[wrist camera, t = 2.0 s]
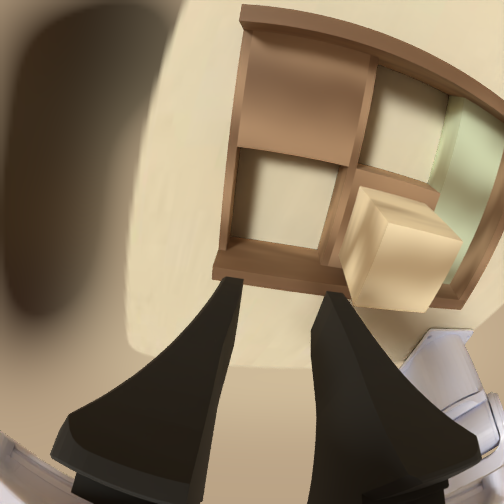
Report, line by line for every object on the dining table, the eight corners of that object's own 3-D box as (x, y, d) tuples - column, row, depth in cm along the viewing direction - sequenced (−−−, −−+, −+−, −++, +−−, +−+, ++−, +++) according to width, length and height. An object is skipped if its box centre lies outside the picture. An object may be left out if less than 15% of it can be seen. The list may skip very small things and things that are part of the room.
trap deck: (442, 280, 21) (460, 309, 17) (222, 246, 21) (211, 279, 17) (501, 115, 12) (534, 126, 9) (249, 23, 12) (241, 4, 9)
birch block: (399, 265, 18) (424, 312, 14) (338, 255, 18) (353, 306, 14) (425, 203, 15) (463, 241, 11) (359, 185, 15) (388, 222, 11)
